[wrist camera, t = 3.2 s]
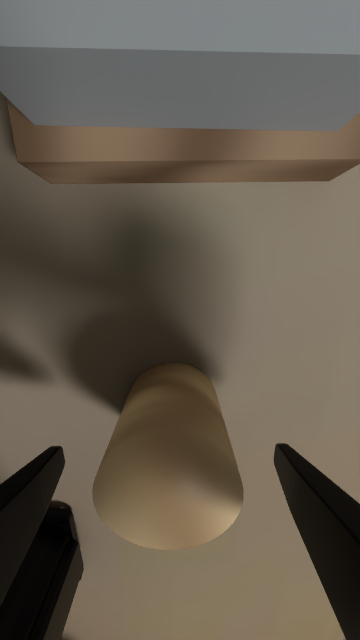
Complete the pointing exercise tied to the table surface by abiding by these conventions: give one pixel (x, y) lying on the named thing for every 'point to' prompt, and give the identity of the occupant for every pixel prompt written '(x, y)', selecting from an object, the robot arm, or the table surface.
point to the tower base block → (182, 153)
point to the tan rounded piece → (169, 463)
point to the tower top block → (182, 63)
